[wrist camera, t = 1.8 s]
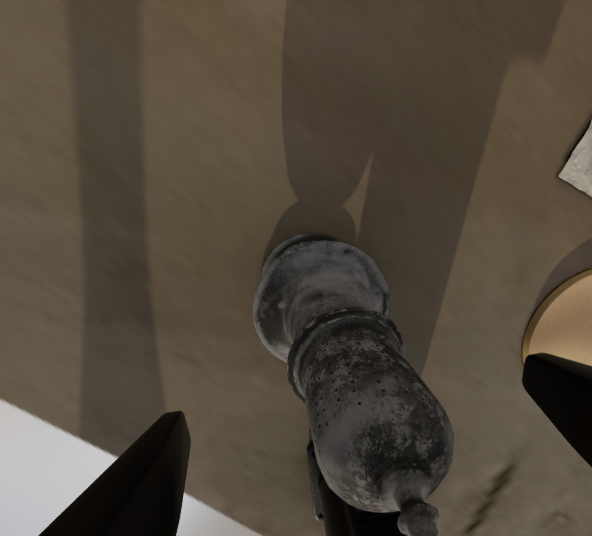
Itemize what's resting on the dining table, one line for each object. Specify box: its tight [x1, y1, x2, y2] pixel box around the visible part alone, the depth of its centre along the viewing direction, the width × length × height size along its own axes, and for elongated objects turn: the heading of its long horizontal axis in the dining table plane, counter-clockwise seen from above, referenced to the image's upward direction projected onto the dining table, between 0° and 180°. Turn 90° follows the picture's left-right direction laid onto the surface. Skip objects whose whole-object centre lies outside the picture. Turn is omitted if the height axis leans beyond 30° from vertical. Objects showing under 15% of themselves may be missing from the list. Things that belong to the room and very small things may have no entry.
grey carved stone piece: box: [252, 233, 454, 536], centre depth 10 cm, size 6×6×12 cm
